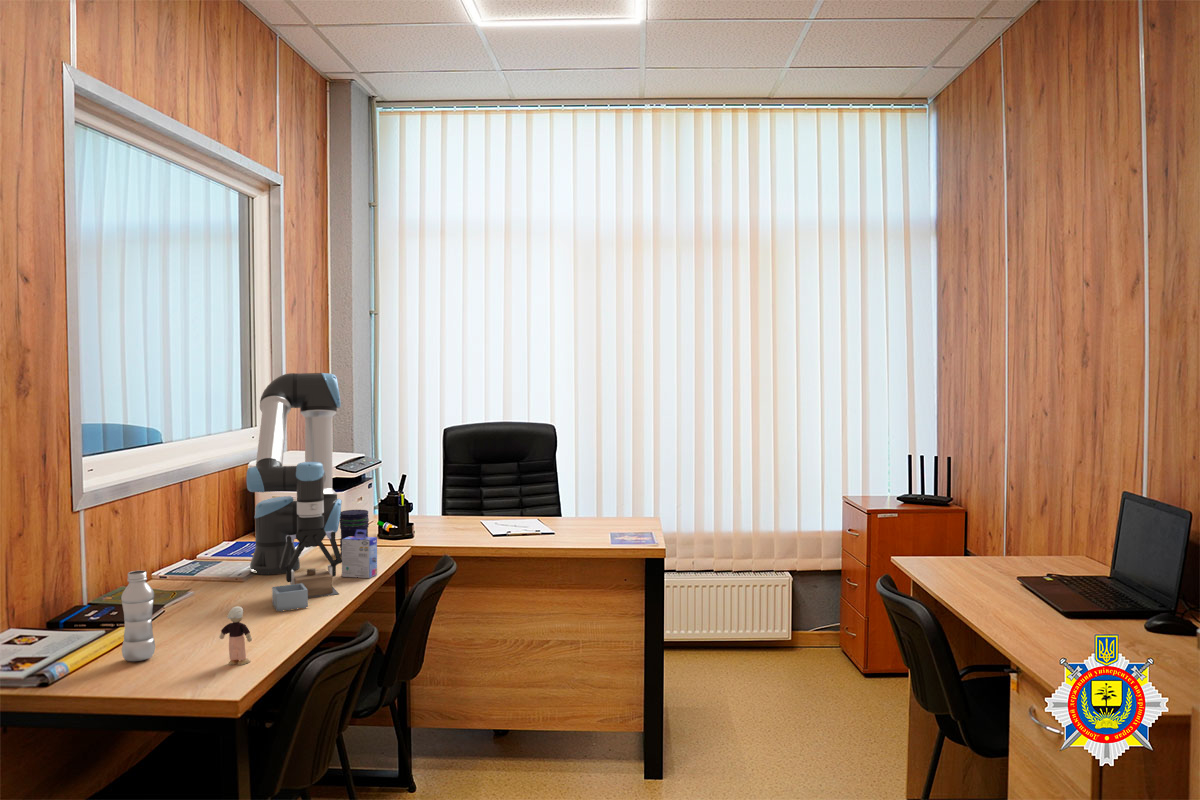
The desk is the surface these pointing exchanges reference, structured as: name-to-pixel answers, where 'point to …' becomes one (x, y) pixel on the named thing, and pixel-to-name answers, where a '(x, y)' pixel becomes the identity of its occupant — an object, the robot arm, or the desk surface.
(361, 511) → the storage jar
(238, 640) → the grandmother figurine
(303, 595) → the grey cubby shelf
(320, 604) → the desk surface
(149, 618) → the plastic bottle
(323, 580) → the lid
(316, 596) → the mat
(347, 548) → the ink cartridge box
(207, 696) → the desk surface
